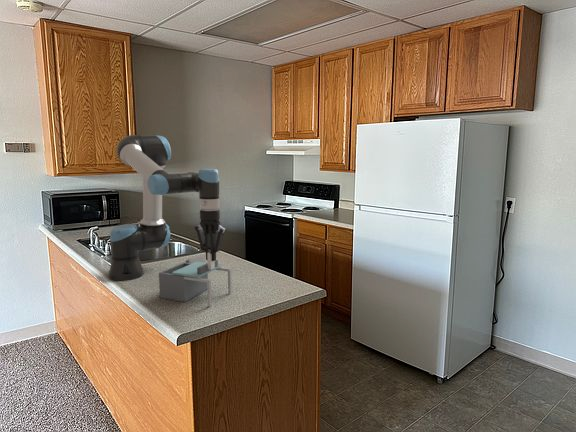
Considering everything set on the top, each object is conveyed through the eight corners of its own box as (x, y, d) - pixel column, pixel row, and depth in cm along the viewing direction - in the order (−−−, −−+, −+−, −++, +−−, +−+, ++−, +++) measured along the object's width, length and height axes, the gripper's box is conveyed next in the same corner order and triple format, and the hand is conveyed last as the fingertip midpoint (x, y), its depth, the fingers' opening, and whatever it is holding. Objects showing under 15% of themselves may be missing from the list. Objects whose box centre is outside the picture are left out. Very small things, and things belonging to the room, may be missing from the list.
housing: (160, 298, 162) (158, 272, 161) (184, 285, 177) (183, 262, 175) (210, 307, 154) (209, 280, 152) (231, 293, 168) (231, 268, 166)
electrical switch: (192, 279, 186) (190, 259, 185) (185, 277, 189) (183, 258, 188) (208, 274, 193) (206, 255, 192) (201, 273, 196) (199, 254, 195)
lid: (172, 274, 158) (171, 266, 158) (196, 263, 173) (196, 256, 172) (198, 278, 154) (198, 269, 153) (220, 266, 168) (220, 259, 168)
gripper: (189, 209, 155) (191, 269, 159) (219, 211, 151) (220, 273, 155) (201, 206, 162) (202, 264, 166) (229, 209, 157) (230, 267, 161)
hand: (211, 268), depth 160 cm, fingers closed
